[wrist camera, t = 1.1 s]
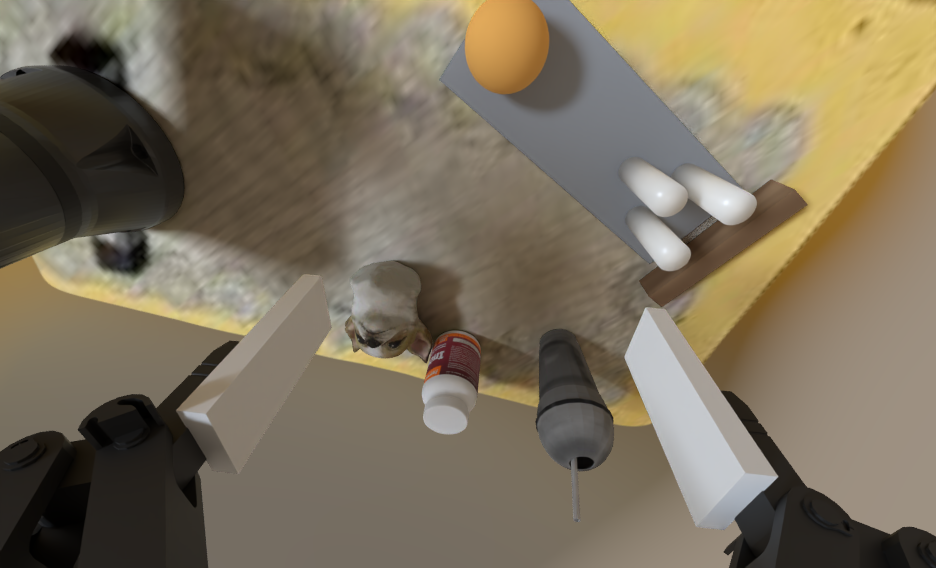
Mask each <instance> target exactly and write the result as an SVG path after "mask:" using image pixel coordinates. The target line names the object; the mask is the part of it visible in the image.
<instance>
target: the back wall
mask: <svg viewBox="0 0 936 568" xmlns="http://www.w3.org/2000/svg"><path fill="white" fill-rule="evenodd" d="M752 195H753V196H754V197H755V198H756V201H757V206H756V209H755V211H754V213H753V214H752V215H751V216H750V217H749V218H748V219H747V220H745V221H744V222H742V223H740V224H736V225H726V224H723V223H722V222H720V221H719V220H718V221H716V222H715V223H714V224H713V225H711V226H710V227H709V228H707V229H706V230H705V231H703V232H702V233H701V234H700V235H698V236H697V237H696V238H694V239H693V240H692V241H690V242H689V243H688V244H687V246H688V248H689V249H690V251H691V257H690V259H689V261H688V263H687V264H686V265H685V266H683V267H682V268H680V269H678V270H675V271H665V270H662V269H661V268H660V267H659V266H658V267H657V268H655V269H654V270H653V271H651V272H650V273H649V274H648V275H646V276H645V277H644V278H642V279H641V280H640V283H641V285H642V286H643V288H644V289H645V291H646V293H647V294H648V296H649V297H650V298H651V299H653V300H654V301H655V302H656V303H657V304H659V305H660V306H661V307H663V306H664V305H665V304H667V303H668V302H670V301H671V300H673V299H674V298H675V297H677V296H678V295H680V294H681V293H683V292H684V291H685V290H687V289H688V288H690V287H691V286H693V285H694V284H695V283H697V282H698V281H700V280H701V279H703V278H704V277H705V276H707V275H708V274H710V273H711V272H713V271H714V270H715V269H717V268H718V267H720V266H721V265H722V264H724V263H725V262H727V261H728V260H730V259H731V258H732V257H734V256H735V255H737V254H738V253H740V252H741V251H742V250H744V249H745V248H747V247H748V246H750V245H751V244H752V243H754V242H755V241H757V240H758V239H760V238H761V237H762V236H764V235H765V234H767V233H768V232H770V231H771V230H772V229H774V228H775V227H777V226H778V225H780V224H781V223H782V222H784V221H785V220H787V219H788V218H789V217H791V216H792V215H794V214H795V213H797V212H798V211H799V210H801V209H802V208H804V207H805V206H807V205H808V204H807V203H806V202H805V201H804V200H803V199H802V197H801V196H800V195H799V194H798V193H797V192H796V190H795V189H792V188H790V187H787V186H785V185H783V184H780V183H778V182H776V181H773V180H770V181H768V182H767V183H766V184H765V185H763V186H762V187H761V188H759V189H758V190H757V191H755V192H754V193H753V194H752Z"/></svg>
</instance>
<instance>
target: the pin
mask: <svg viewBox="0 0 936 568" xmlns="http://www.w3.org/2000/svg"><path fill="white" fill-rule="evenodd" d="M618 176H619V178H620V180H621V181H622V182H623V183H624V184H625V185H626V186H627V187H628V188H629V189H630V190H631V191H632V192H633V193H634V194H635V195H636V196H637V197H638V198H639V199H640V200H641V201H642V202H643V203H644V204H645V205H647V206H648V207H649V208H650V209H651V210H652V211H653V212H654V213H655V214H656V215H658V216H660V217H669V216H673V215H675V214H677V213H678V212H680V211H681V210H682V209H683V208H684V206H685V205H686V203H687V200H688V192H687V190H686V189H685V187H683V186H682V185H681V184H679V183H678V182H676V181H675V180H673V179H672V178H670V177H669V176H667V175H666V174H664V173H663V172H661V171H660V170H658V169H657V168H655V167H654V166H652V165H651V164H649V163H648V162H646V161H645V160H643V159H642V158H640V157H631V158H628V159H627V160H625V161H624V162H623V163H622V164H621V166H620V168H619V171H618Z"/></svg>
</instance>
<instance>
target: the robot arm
mask: <svg viewBox="0 0 936 568" xmlns="http://www.w3.org/2000/svg"><path fill="white" fill-rule="evenodd" d="M183 194H184V182H183V175H182V171H181V167H180V164H179V161H178V159H177V156H176V154H175V152H174V150H173V148H172V146H171V144H170V142H169V141H168V139H167V137H166V136H165V134H164V133H163V131H162V130H161V128H160V127H159V126H158V124H157V123H156V122H155V121H154V120H153V118H152V117H151V116H150V115H149V114H148V113H147V112H146V111H145V110H144V109H143V108H142V107H141V106H140V105H139V104H138V103H137V102H136V101H135V100H134V99H133V98H131V97H130V96H129V95H128V94H126V93H125V92H124V91H123V90H121V89H120V88H118V87H117V86H115V85H114V84H112V83H111V82H109V81H107V80H105V79H104V78H102V77H100V76H98V75H95V74H93V73H91V72H88V71H85V70H82V69H79V68H75V67H70V66H26V67H20V68H17V69H14V70H11V71H9V72H7V73H5V74H3V75H2V76H1V77H0V268H3V267H5V266H8V265H10V264H13V263H15V262H17V261H20V260H22V259H25V258H27V257H29V256H32V255H34V254H36V253H39V252H41V251H44V250H46V249H48V248H51V247H53V246H56V245H58V244H61V243H63V242H66V241H68V240H70V239H73V238H78V237H86V236H94V235H102V234H109V233H116V232H136V231H141V230H145V229H148V228H151V227H153V226H155V225H157V224H159V223H162V222H164V221H166V220H168V219H169V218H171V217H172V216H173V215H174V214H175V213H176V212H177V210H178V209H179V207H180V205H181V202H182V199H183ZM331 328H332V327H331V322H330V317H329V311H328V306H327V301H326V296H325V291H324V285H323V280H322V276H319V275H309V274H303V275H302V276H301V277H300V278H299V279H298V280H297V281H296V282H295V283H294V284H293V286H292V287H291V288H290V289H289V290H288V291H287V292H286V293H285V294H284V295H283V296H282V297H281V298H280V299H279V301H278V302H277V303H276V304H275V305H274V306H273V307H272V308H271V309H270V310H269V311H268V312H267V313H266V314H265V316H264V317H263V318H262V319H261V320H260V321H259V322H258V323H257V324H256V325H255V326H254V327H253V328H252V329H251V331H250V332H249V333H248V334H247V335H246V336H245V337H244V338H243V339H242V340H241V341H240V342H238V341H229V342H227V343H225V344H224V345H222V346H221V347H219V348H217V349H216V350H214V351H213V352H212V353H211V354H210V355H209V356H208V357H207V358H206V359H205V360H204V361H203V362H202V364H201V365H199V366H198V367H197V368H196V369H195V370H194V371H193V372H192V375H189V376H188V377H187V378H186V379H185V380H184V381H183V382H182V383H181V384H180V385H179V386H178V387H177V388H176V389H175V390H174V391H173V392H172V393H171V394H170V395H169V396H168V397H167V398H166V399H165V400H164V401H163V402H162V403H161V404H160V405H159V406H158V407H157V408H155V406H154V404H153V403H152V401H151V400H150V398H149V397H146V396H144V395H140V394H138V395H137V394H131V395H127V396H123V397H118V398H116V399H114V400H111V401H109V402H107V403H104V404H103V405H101V406H100V407H98V408H97V409H95V410H93V411H92V412H91V413H90V414H89V415H88V416H87V417H86V418H85V419H84V420H83V421H82V423H81V425H80V426H79V428H78V431H79V432H80V433H81V434H82V435H83V436H84V438H85V440H79V441H74V442H69V440H68V439H67V438H66V437H65V436H64V435H63V434H62V433H59V432H56V431H46V432H40V433H36V434H33V435H31V436H27V437H25V438H23V439H21V440H19V441H17V442H15V443H13V444H11V445H9V446H8V447H6V448H5V449H4V450H2V451H1V452H0V568H208V560H207V549H206V537H205V526H204V514H203V502H202V491H201V479H200V476H199V474H198V472H197V471H198V470H199V469H200V467H201V466H202V465H203V463H204V462H205V461H207V462H208V464H209V466H210V467H211V469H212V471H216V472H225V473H233V474H239V473H240V471H241V469H242V468H243V466H244V465H245V463H246V461H247V460H248V458H249V457H250V455H251V454H252V452H253V450H254V449H255V447H256V446H257V444H258V443H259V441H260V439H261V438H262V436H263V435H264V433H265V432H266V430H267V428H268V427H269V425H270V424H271V422H272V420H273V419H274V417H275V416H276V414H277V413H278V411H279V410H280V408H281V406H282V405H283V403H284V402H285V400H286V399H287V397H288V395H289V394H290V392H291V390H292V389H293V388H294V386H295V384H296V383H297V381H298V380H299V378H300V377H301V375H302V373H303V372H304V370H305V369H306V367H307V366H308V364H309V362H310V361H311V359H312V358H313V356H314V355H315V353H316V351H317V350H318V348H319V347H320V345H321V344H322V342H323V340H324V339H325V337H326V336H327V334H328V333H329V331H330V329H331ZM624 358H625V360H626V363H627V365H628V367H629V370H630V372H631V374H632V377H633V379H634V381H635V384H636V386H637V388H638V391H639V393H640V396H641V398H642V400H643V403H644V405H645V407H646V410H647V412H648V414H649V417H650V419H651V421H652V424H653V426H654V428H655V431H656V433H657V436H658V438H659V440H660V443H661V445H662V447H663V450H664V452H665V454H666V457H667V459H668V461H669V464H670V466H671V469H672V471H673V473H674V475H675V478H676V480H677V482H678V485H679V487H680V490H681V492H682V494H683V497H684V499H685V501H686V504H687V506H688V508H689V511H690V513H691V516H692V518H693V520H694V523H695V525H696V527H703V528H711V529H720V530H724V529H726V528H727V527H728V526H729V525H730V523H732V521H734V520H735V521H736V522H737V524H738V526H739V528H740V530H741V532H742V534H740V536H738V537H737V538H736V539H735V540H734V541H733V542H732V543H731V544H730V545H728V547H727V548H726V549H725V551H724V553H725V554H727V555H729V554H730V553H731V552H732V551H734V552H733V555H732V559H731V563H730V566H729V568H936V536H934V535H932V534H930V533H928V532H927V531H924V530H920V529H917V528H914V527H902V528H901V529H899V530H897V531H896V532H894V533H893V534H891V535H890V534H888V533H885V532H883V531H880V530H878V529H875V528H872V527H870V526H867V525H865V524H862V523H859V522H857V521H854V520H852V519H851V518H850V517H849V515H848V514H847V513H846V512H845V511H844V510H843V509H842V508H841V507H840V506H839V505H837V503H835V502H834V501H832V500H831V499H829V498H828V497H827V496H825V495H824V494H822V493H820V492H817V491H815V490H813V489H811V488H807V487H806V485H805V484H804V483H803V482H802V480H801V479H800V477H799V476H798V475H797V473H796V472H795V471H794V469H793V468H792V466H791V465H790V464H789V462H788V461H787V459H786V458H785V457H784V455H783V454H782V453H781V451H780V450H779V449H778V447H777V446H776V444H775V443H774V442H773V440H772V439H771V437H769V436H767V432H766V431H765V429H764V428H763V427H762V425H761V424H759V423H758V419H757V418H756V417H755V415H754V414H753V413H752V411H751V410H750V408H749V407H748V406H747V405H746V404H745V403H744V402H743V401H742V400H740V399H739V398H738V397H737V396H736V395H735V394H734V393H732V392H730V391H721V390H719V388H718V387H717V385H716V384H715V382H714V381H713V379H712V378H711V376H710V375H709V373H708V372H707V370H706V369H705V367H704V366H703V364H702V363H701V361H700V360H699V358H698V357H697V355H696V354H695V353H694V351H693V350H692V348H691V347H690V345H689V344H688V342H687V341H686V339H685V338H684V336H683V335H682V333H681V332H680V330H679V329H678V327H677V326H676V324H675V323H674V321H673V320H672V318H671V317H670V315H669V314H668V313H667V311H666V310H665V309H660V308H649V307H646V308H645V310H644V312H643V315H642V317H641V319H640V322H639V324H638V326H637V329H636V331H635V333H634V336H633V338H632V340H631V343H630V345H629V347H628V350H627V352H626V354H625V357H624Z"/></svg>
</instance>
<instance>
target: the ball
mask: <svg viewBox="0 0 936 568" xmlns="http://www.w3.org/2000/svg"><path fill="white" fill-rule="evenodd" d="M548 49H549V31H548V26H547V23H546V20H545V17H544V15H543V13H542V12H541V10H540V8H539V7H538V6H537V5H536V4H535V3H534V2H533V1H532V0H486V1H485V2H484V3H483V4H482V5H481V6H480V7H479V8H478V9H477V11H476V12H475V14H474V15H473V17H472V19H471V21H470V23H469V26H468V29H467V32H466V38H465V55H466V61H467V64H468V67H469V69H470V72H471V73H472V75H473V77H474V78H475V80H476V81H477V82H478V83H479V84H480V85H481V86H482V87H484V88H485V89H487V90H489V91H491V92H493V93H497V94H512V93H516V92H518V91H521V90H522V89H524V88H526V87H527V86H529V85H530V84H531V83H532V82H533V81H534V80H535V79H536V78H537V76H538V75H539V73H540V72H541V70H542V68H543V66H544V64H545V61H546V58H547V55H548Z"/></svg>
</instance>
